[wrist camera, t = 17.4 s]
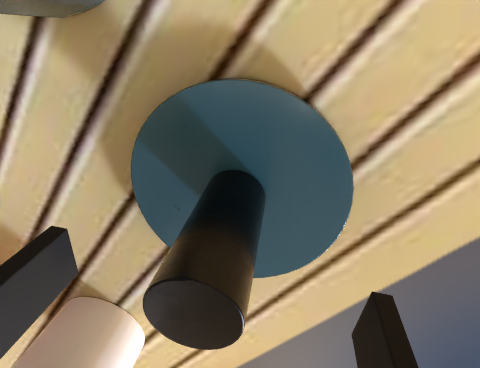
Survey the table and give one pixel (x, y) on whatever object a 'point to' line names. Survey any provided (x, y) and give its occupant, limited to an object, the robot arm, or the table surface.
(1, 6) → the pot
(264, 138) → the lid
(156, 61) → the table surface
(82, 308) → the cylinder container
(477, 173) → the table surface
